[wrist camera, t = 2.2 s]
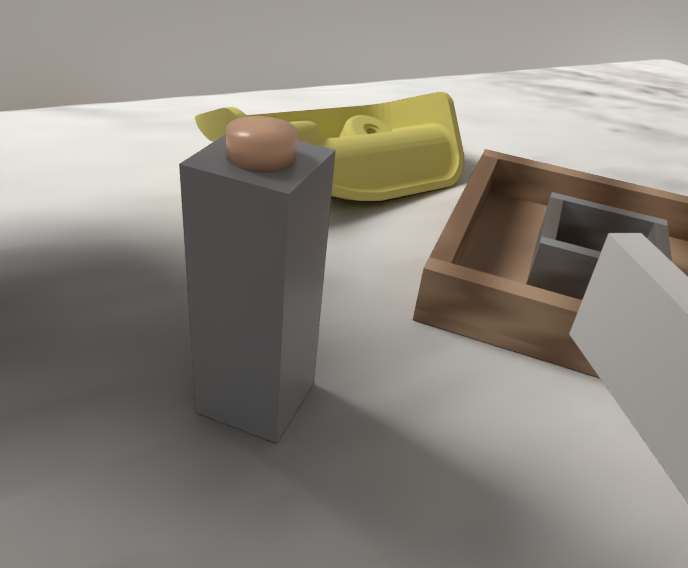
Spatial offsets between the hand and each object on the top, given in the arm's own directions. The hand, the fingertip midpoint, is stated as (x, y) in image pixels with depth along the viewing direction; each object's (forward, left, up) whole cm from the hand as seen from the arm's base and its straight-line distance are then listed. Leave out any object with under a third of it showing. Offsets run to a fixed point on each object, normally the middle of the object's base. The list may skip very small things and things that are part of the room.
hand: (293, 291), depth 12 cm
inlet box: (+9, +27, -14) cm, 31 cm away
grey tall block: (-5, +9, -14) cm, 17 cm away
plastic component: (-11, +33, -14) cm, 37 cm away
